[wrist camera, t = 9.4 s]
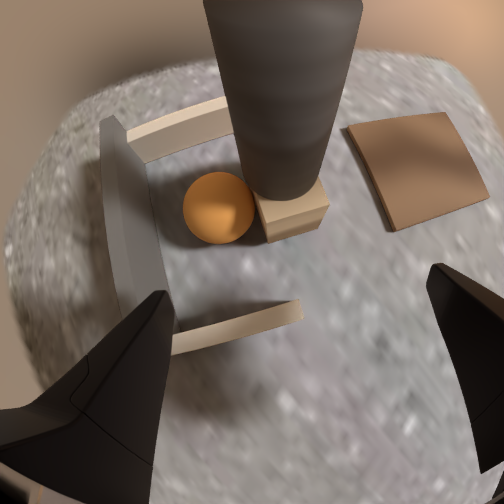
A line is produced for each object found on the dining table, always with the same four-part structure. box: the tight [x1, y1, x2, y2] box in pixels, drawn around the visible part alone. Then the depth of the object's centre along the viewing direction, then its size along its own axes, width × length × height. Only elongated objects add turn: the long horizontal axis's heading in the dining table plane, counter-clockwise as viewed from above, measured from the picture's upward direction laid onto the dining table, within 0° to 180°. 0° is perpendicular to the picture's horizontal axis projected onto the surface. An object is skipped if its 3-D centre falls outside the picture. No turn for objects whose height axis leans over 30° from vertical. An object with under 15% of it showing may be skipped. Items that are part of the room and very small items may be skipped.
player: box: [203, 0, 363, 244], centre depth 11 cm, size 5×4×13 cm
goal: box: [100, 96, 304, 355], centre depth 15 cm, size 14×8×5 cm, turn 17°
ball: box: [183, 172, 255, 244], centre depth 16 cm, size 4×4×4 cm
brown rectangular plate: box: [347, 112, 490, 232], centre depth 17 cm, size 8×10×1 cm
